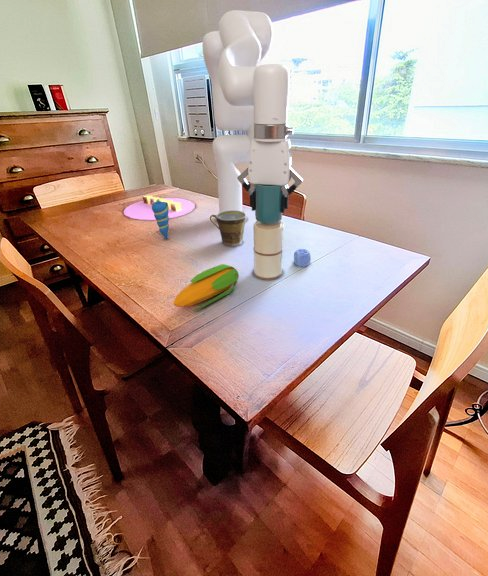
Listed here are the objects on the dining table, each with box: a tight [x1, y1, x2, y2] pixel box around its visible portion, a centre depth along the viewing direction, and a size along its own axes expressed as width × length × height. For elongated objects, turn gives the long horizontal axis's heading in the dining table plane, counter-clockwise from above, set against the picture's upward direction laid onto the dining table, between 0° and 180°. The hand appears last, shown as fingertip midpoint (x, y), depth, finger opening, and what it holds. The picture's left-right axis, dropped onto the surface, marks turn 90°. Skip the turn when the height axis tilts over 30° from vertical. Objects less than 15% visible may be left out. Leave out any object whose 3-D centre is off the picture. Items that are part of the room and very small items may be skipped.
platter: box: [123, 194, 196, 221], centre depth 137 cm, size 32×32×3 cm
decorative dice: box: [293, 248, 311, 267], centre depth 90 cm, size 4×4×4 cm
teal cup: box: [254, 184, 283, 223], centre depth 75 cm, size 7×7×9 cm
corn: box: [172, 263, 240, 312], centre depth 74 cm, size 7×8×20 cm
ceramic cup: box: [209, 210, 247, 247], centre depth 102 cm, size 13×10×10 cm
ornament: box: [152, 197, 170, 240], centre depth 103 cm, size 5×5×15 cm
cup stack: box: [253, 220, 285, 281], centre depth 83 cm, size 8×8×15 cm
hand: (268, 209), depth 77 cm, fingers closed on teal cup, 7 cm apart
